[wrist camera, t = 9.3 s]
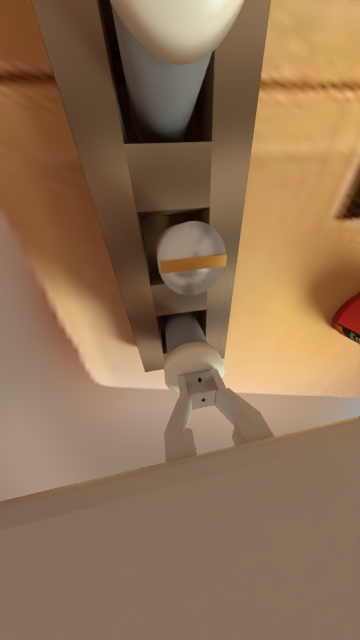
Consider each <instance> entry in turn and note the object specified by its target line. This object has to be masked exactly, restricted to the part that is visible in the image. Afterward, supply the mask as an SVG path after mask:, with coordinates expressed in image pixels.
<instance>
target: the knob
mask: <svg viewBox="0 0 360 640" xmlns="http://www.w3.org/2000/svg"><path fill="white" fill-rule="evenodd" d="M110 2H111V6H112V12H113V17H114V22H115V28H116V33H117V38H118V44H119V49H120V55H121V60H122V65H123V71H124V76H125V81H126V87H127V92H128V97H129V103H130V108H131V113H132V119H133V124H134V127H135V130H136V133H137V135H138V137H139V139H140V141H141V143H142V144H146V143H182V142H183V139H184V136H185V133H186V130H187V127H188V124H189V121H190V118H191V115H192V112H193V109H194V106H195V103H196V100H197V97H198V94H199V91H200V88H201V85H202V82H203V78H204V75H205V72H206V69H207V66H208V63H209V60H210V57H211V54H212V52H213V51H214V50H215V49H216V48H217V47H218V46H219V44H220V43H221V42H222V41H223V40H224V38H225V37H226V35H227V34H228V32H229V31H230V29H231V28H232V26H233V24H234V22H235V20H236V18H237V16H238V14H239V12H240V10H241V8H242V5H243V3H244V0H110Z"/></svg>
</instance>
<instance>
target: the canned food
mask: <svg viewBox="0 0 360 640" xmlns="http://www.w3.org/2000/svg"><path fill="white" fill-rule="evenodd" d="M333 327H334V328H335V329H336V330H337V331H338V332H339V333H340V334H342V335H344V336H346V337H348V338H349V339H351V340H353V341H355V342H357V343H358V344H360V294H358V295H356V296H354V297H353V298H352V299H350V300H349V301H348V302H346V303H345V304H344V305H343V306H342V307H341V308H340V310H339V311H338V312H337V314H336V315H335V317H334V320H333Z"/></svg>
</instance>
